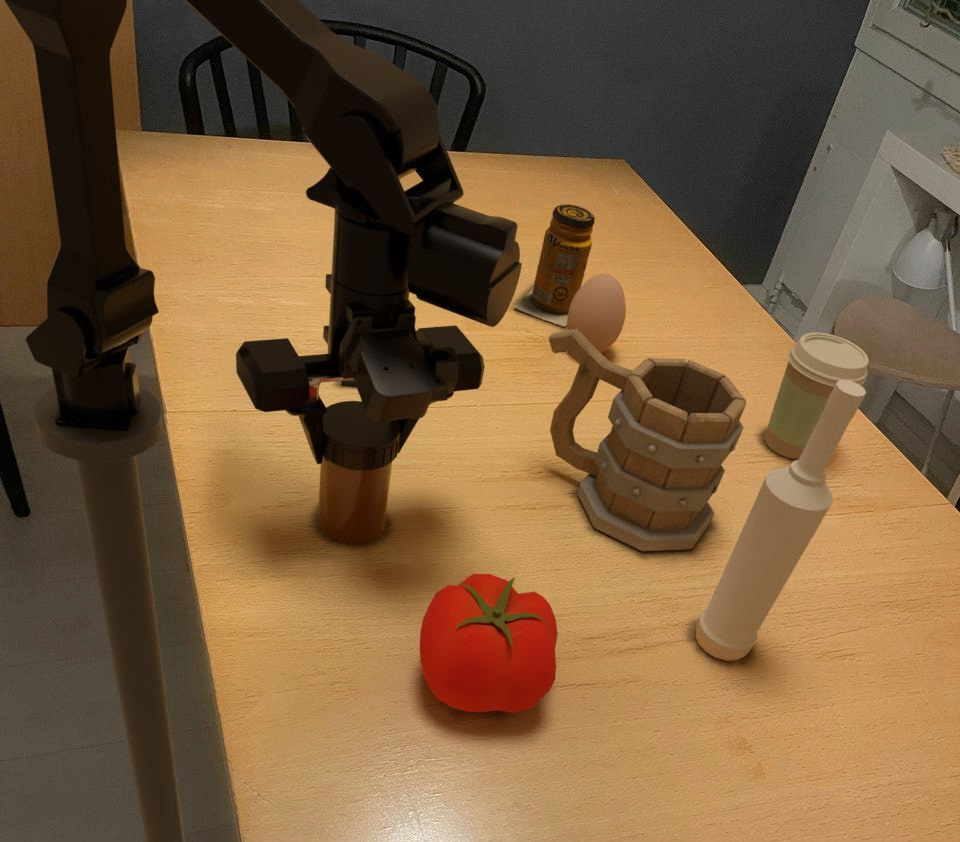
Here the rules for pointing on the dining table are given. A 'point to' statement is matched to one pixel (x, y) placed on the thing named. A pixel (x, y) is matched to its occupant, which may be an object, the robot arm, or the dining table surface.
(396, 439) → the jar lid
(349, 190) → the robot arm
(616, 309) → the egg
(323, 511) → the jam jar
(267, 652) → the dining table surface
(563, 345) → the tankard
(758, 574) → the bottle
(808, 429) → the coffee cup
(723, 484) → the dining table surface
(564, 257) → the condiment
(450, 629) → the tomato
